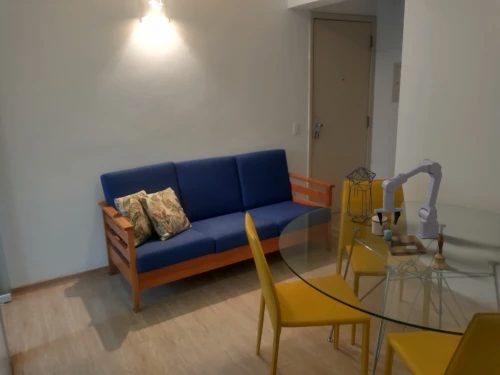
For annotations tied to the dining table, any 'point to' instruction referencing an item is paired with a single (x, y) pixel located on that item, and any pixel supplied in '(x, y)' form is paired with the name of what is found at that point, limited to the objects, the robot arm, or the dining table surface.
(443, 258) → the hand bell
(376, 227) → the teacup with lid
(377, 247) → the dining table surface
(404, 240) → the wooden picture frame
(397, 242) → the hook arm
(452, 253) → the dining table surface
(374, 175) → the geometric lantern
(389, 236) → the bobbin
